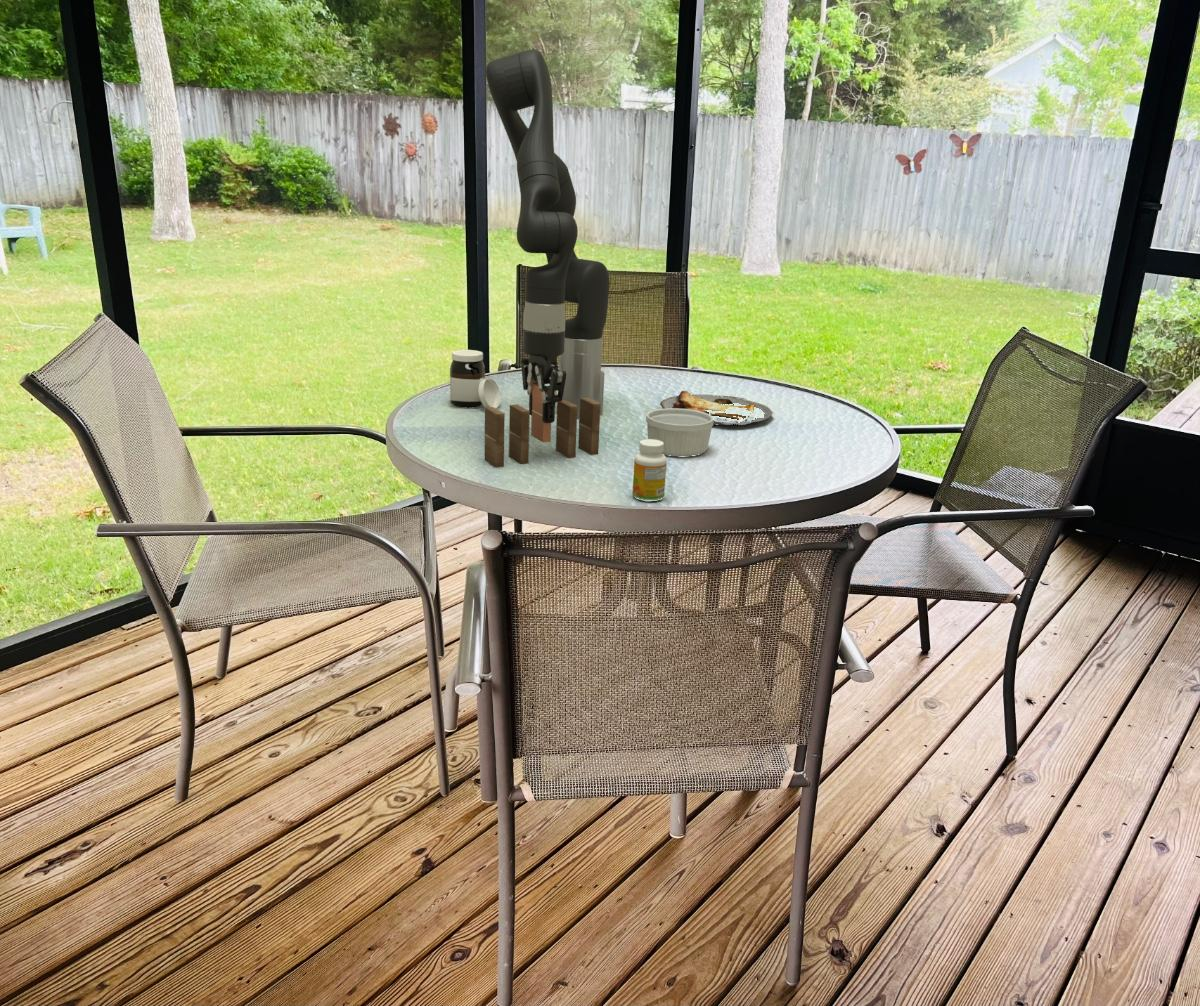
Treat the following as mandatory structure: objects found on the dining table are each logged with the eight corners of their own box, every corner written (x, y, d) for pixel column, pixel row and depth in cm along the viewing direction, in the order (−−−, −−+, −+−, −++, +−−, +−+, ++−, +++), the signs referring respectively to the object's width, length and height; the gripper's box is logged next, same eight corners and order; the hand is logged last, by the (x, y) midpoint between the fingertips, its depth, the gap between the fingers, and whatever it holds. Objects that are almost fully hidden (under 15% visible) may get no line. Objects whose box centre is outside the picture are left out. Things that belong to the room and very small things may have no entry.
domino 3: (538, 434, 180) (540, 383, 177) (550, 441, 176) (552, 389, 173) (530, 435, 179) (532, 383, 176) (542, 442, 175) (544, 389, 172)
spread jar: (452, 398, 218) (452, 347, 214) (502, 399, 219) (502, 349, 215) (447, 411, 207) (446, 358, 203) (499, 413, 208) (499, 360, 204)
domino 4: (563, 449, 184) (564, 399, 181) (575, 457, 180) (577, 405, 177) (555, 450, 183) (557, 400, 180) (568, 458, 179) (570, 406, 176)
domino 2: (516, 455, 179) (517, 404, 176) (528, 463, 175) (529, 410, 172) (508, 456, 178) (509, 405, 175) (520, 464, 174) (521, 411, 171)
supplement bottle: (630, 491, 163) (633, 437, 160) (661, 492, 163) (665, 438, 160) (634, 502, 158) (637, 446, 155) (666, 503, 158) (670, 447, 155)
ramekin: (633, 443, 191) (635, 409, 189) (690, 438, 196) (693, 405, 194) (662, 462, 180) (665, 427, 177) (723, 457, 185) (726, 422, 182)
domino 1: (492, 459, 177) (492, 406, 173) (504, 466, 173) (504, 413, 169) (484, 460, 176) (484, 407, 172) (495, 467, 172) (496, 414, 168)
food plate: (646, 418, 209) (647, 403, 208) (677, 397, 229) (679, 383, 228) (757, 438, 201) (759, 422, 199) (779, 415, 221) (782, 400, 220)
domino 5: (585, 447, 187) (587, 397, 183) (598, 454, 183) (600, 403, 179) (578, 448, 186) (580, 398, 182) (590, 455, 182) (593, 404, 178)
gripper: (581, 333, 167) (577, 426, 173) (544, 320, 178) (541, 408, 184) (543, 335, 163) (541, 430, 169) (508, 321, 175) (506, 411, 180)
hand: (541, 418), depth 177 cm, fingers closed on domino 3, 5 cm apart
